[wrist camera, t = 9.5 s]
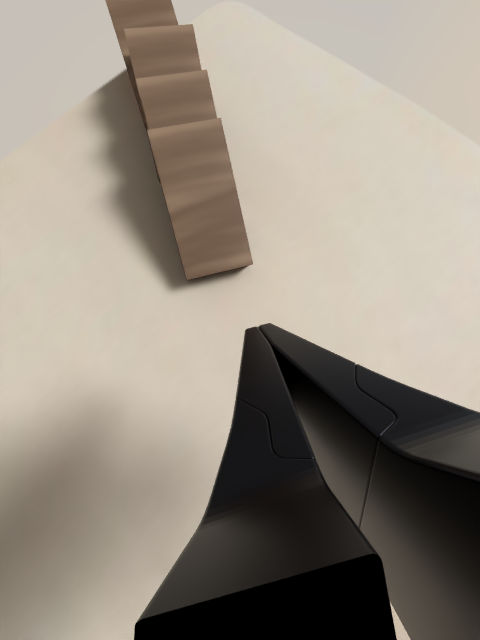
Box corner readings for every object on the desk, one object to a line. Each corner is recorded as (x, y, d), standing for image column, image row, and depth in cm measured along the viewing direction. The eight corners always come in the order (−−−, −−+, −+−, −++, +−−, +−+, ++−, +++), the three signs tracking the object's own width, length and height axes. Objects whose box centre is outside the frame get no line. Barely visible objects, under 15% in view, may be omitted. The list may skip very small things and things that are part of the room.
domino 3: (219, 167, 22) (192, 24, 20) (157, 175, 21) (123, 28, 19) (217, 174, 23) (192, 42, 21) (159, 183, 23) (129, 47, 21)
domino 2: (237, 213, 21) (206, 69, 19) (173, 226, 20) (135, 78, 18) (234, 218, 22) (205, 85, 21) (175, 230, 22) (140, 94, 20)
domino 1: (253, 263, 20) (220, 117, 18) (186, 279, 19) (146, 129, 18) (248, 265, 21) (218, 130, 20) (187, 279, 21) (151, 142, 19)
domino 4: (203, 110, 22) (166, -17, 21) (144, 123, 22) (103, -8, 21) (203, 123, 24) (168, 5, 23) (148, 135, 23) (110, 14, 22)
